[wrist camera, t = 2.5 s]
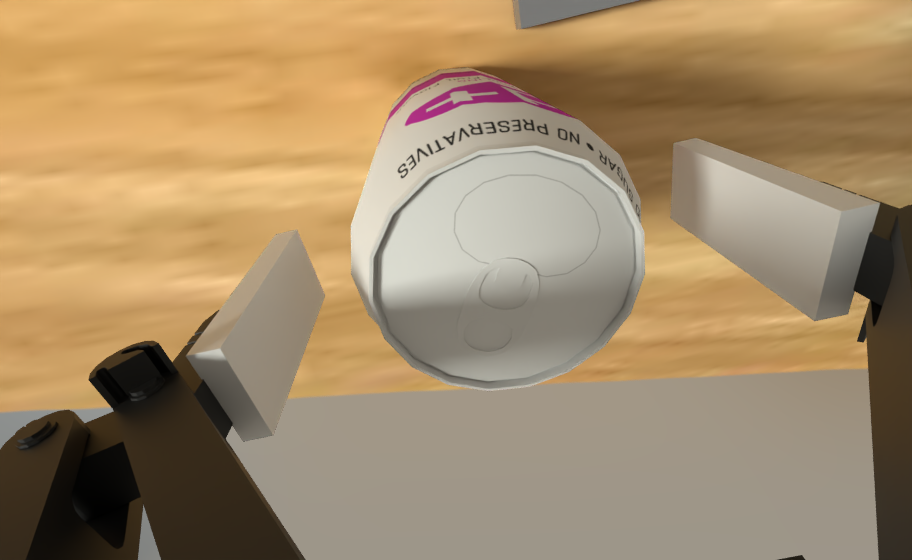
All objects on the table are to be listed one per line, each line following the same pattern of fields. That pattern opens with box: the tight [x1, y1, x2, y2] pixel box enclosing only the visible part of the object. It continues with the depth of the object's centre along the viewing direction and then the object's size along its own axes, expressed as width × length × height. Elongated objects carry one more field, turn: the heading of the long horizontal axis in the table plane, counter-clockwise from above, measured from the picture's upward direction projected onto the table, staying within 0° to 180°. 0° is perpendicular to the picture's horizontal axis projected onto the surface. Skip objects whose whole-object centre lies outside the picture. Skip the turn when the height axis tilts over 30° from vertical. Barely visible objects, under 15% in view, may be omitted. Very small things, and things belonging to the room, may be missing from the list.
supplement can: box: [351, 67, 645, 391], centre depth 17 cm, size 8×8×15 cm
